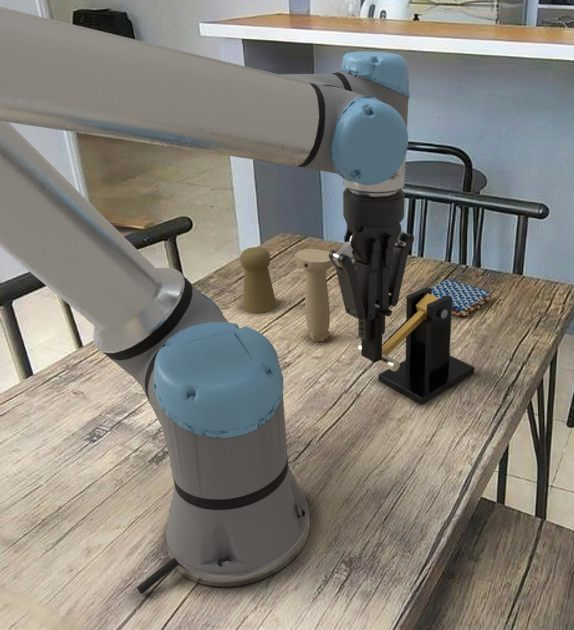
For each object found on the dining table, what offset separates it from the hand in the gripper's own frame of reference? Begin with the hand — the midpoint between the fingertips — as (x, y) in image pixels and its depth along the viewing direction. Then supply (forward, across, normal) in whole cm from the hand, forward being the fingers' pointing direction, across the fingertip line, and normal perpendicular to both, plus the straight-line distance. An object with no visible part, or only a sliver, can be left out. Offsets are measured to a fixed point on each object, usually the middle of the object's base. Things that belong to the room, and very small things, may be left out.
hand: (371, 357), depth 93 cm
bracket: (+8, +12, 0) cm, 14 cm away
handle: (+8, +8, +21) cm, 24 cm away
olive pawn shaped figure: (+8, +8, +38) cm, 40 cm away
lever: (-1, +7, 0) cm, 7 cm away
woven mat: (+8, +35, +14) cm, 38 cm away
